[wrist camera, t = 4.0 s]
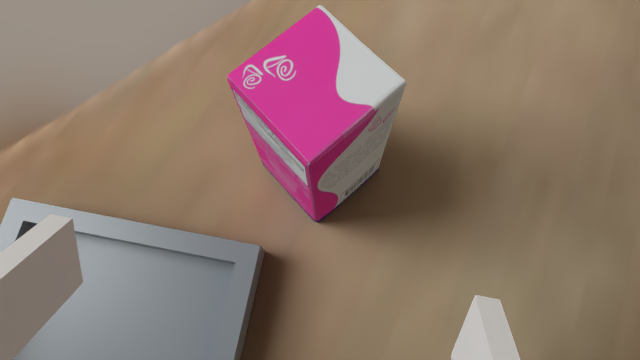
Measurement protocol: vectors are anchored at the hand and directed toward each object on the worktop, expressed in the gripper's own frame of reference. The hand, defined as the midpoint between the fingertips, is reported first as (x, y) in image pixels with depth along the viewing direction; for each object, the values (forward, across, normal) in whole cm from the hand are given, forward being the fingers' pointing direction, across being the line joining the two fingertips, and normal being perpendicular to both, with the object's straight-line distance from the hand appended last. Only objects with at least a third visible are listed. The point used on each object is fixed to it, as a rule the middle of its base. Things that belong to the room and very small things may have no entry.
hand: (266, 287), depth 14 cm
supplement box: (+16, 0, +3) cm, 16 cm away
